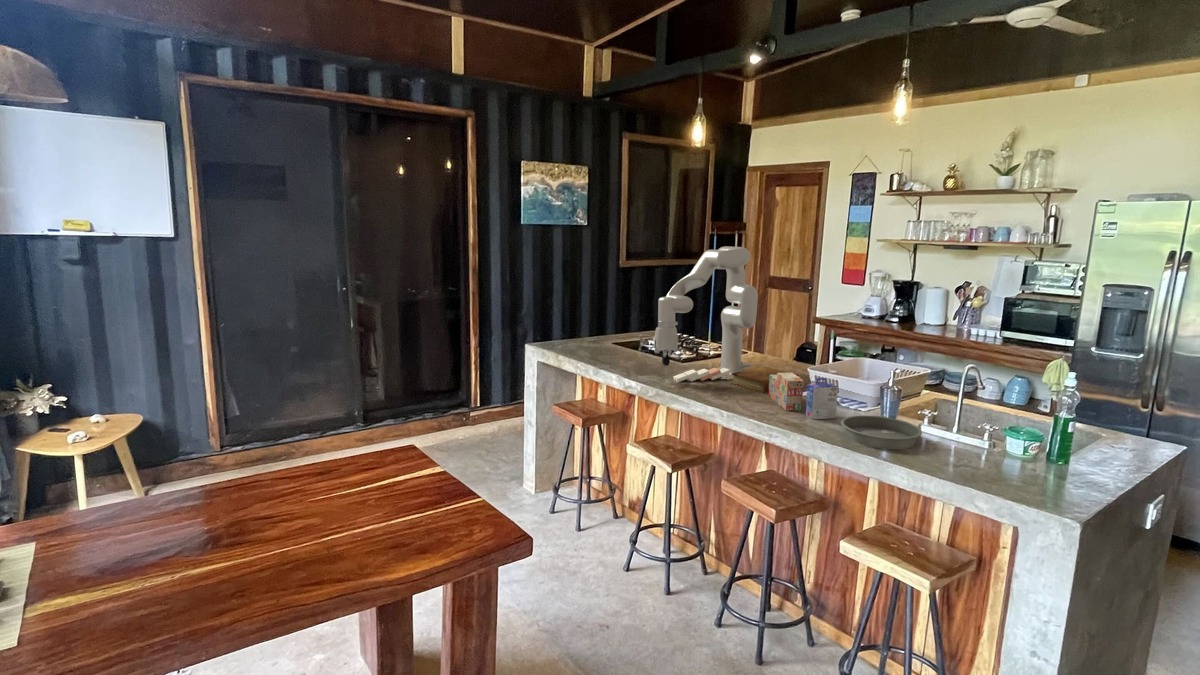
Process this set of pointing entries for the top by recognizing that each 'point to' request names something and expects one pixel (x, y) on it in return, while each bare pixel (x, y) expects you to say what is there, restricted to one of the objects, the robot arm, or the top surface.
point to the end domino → (727, 376)
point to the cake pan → (898, 440)
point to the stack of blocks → (786, 390)
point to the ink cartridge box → (821, 400)
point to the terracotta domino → (711, 373)
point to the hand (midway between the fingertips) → (665, 365)
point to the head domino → (685, 375)
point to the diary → (755, 378)
